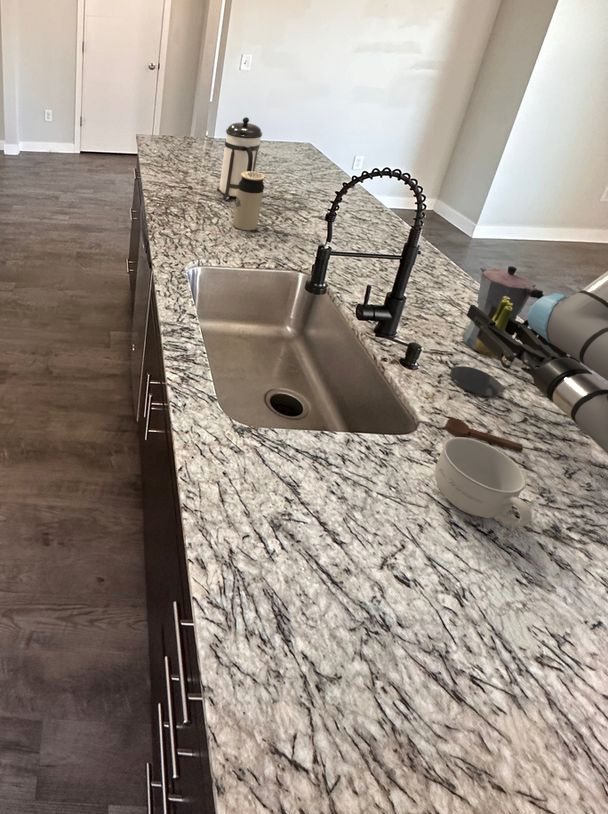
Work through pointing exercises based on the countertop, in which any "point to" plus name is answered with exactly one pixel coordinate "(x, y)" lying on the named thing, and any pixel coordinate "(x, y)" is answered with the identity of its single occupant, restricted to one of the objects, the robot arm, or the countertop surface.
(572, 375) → the robot arm
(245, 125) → the coffee press
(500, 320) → the fennel bulb
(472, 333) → the moka pot
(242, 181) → the travel mug
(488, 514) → the teacup
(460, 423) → the wooden spoon
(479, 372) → the slate coaster
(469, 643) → the countertop surface
